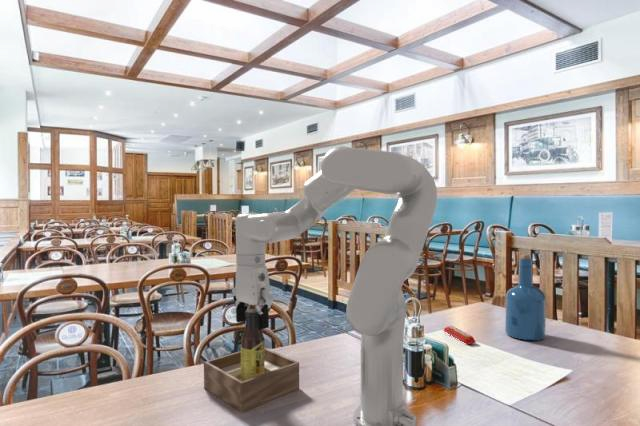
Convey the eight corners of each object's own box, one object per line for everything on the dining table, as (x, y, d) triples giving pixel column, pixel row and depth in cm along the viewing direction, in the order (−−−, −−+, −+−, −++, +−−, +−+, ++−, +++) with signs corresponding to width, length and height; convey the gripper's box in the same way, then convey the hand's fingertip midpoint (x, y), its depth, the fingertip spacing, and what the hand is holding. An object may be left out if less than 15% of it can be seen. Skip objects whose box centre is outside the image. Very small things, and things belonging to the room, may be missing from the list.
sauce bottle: (260, 391, 107) (259, 314, 106) (237, 389, 108) (236, 313, 107) (268, 380, 113) (267, 308, 112) (246, 378, 114) (245, 307, 114)
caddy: (299, 388, 111) (299, 362, 110) (241, 412, 98) (241, 383, 98) (259, 368, 123) (259, 345, 123) (204, 387, 111) (203, 362, 111)
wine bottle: (496, 333, 156) (497, 253, 155) (521, 328, 161) (522, 251, 160) (529, 344, 143) (530, 258, 142) (554, 339, 149) (556, 255, 148)
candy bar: (442, 332, 157) (442, 324, 157) (450, 331, 158) (450, 323, 158) (467, 347, 142) (467, 338, 142) (477, 346, 143) (477, 337, 143)
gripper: (282, 261, 106) (283, 328, 106) (244, 256, 118) (245, 315, 119) (258, 265, 101) (259, 335, 101) (221, 259, 113) (222, 321, 114)
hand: (252, 324), depth 110 cm, fingers open, 9 cm apart
